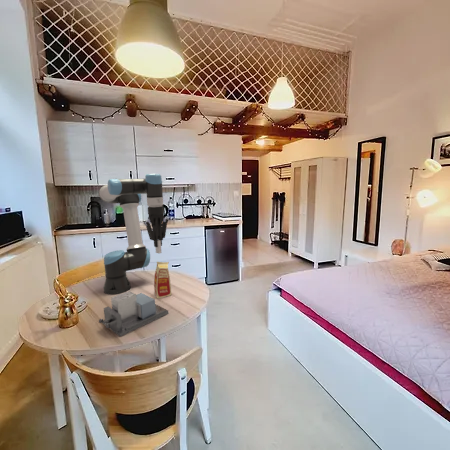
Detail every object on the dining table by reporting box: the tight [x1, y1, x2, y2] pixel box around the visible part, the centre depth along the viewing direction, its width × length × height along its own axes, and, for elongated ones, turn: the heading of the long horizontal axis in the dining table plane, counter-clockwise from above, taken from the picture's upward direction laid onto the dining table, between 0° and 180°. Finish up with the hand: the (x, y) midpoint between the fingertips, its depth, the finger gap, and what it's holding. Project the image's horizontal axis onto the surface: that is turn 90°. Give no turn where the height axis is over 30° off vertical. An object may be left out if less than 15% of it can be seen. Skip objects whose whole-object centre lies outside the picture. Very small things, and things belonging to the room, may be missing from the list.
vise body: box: [98, 303, 169, 338], centre depth 121 cm, size 16×29×8 cm, turn 139°
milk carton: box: [153, 261, 172, 299], centre depth 148 cm, size 9×9×20 cm
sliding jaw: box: [136, 292, 156, 319], centre depth 124 cm, size 12×8×7 cm, turn 49°
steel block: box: [110, 290, 138, 326], centre depth 118 cm, size 6×9×12 cm, turn 139°
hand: (158, 252), depth 129 cm, fingers closed
